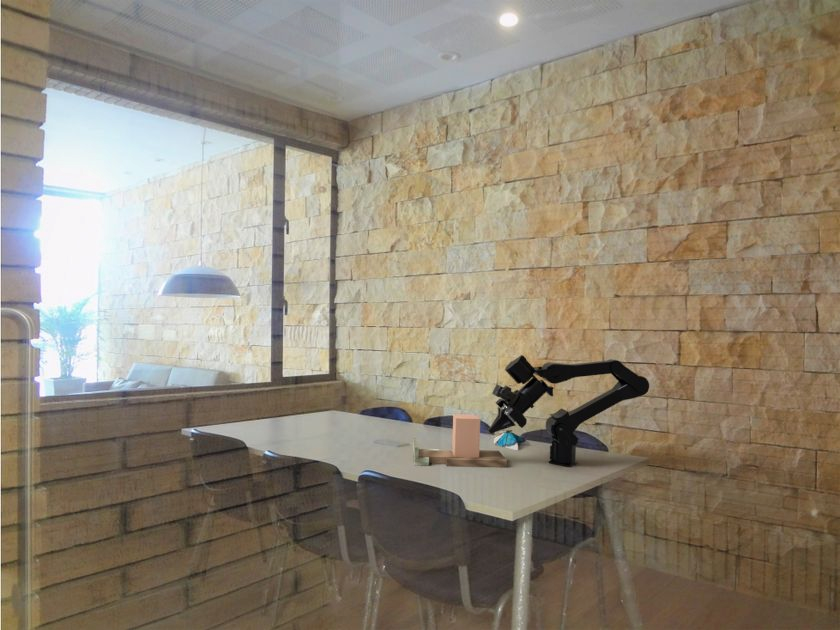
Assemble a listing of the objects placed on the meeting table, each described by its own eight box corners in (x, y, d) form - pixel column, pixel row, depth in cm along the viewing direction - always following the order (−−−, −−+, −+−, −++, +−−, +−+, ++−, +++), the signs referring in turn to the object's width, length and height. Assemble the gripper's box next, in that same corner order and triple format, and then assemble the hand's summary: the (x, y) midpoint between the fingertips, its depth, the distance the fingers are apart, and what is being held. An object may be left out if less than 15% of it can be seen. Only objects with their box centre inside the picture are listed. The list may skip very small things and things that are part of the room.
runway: (498, 456, 175) (499, 440, 175) (506, 467, 163) (507, 449, 163) (412, 454, 173) (413, 438, 173) (414, 465, 161) (415, 447, 161)
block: (475, 451, 172) (476, 414, 172) (479, 457, 165) (480, 419, 165) (452, 451, 171) (453, 414, 171) (454, 456, 164) (455, 418, 164)
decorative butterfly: (502, 429, 199) (528, 426, 193) (506, 448, 198) (531, 446, 192) (487, 433, 191) (513, 430, 185) (490, 453, 190) (517, 451, 184)
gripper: (503, 372, 178) (466, 407, 177) (516, 378, 159) (475, 417, 159) (527, 398, 178) (491, 433, 178) (543, 408, 160) (502, 447, 159)
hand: (489, 432), depth 168 cm, fingers closed
